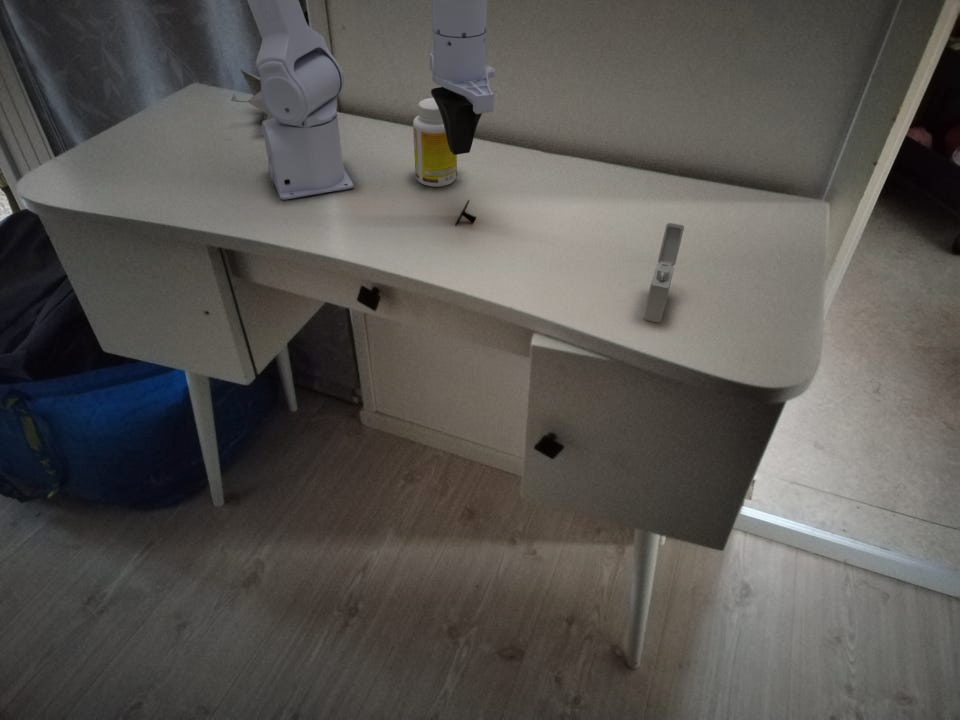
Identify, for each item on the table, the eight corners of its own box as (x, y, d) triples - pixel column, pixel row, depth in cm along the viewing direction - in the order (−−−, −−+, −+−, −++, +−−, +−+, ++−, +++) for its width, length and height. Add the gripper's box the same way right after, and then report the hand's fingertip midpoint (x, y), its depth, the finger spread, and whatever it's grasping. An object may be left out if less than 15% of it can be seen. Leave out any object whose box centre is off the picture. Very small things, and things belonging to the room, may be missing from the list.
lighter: (660, 323, 71) (675, 255, 66) (643, 319, 72) (657, 251, 67) (670, 286, 76) (685, 220, 71) (654, 282, 77) (668, 217, 72)
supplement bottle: (465, 180, 95) (465, 104, 88) (432, 192, 92) (429, 115, 85) (440, 166, 98) (438, 91, 91) (407, 177, 95) (403, 101, 88)
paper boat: (308, 123, 105) (247, 119, 100) (295, 150, 110) (236, 148, 105) (285, 58, 108) (225, 51, 103) (273, 87, 113) (215, 82, 108)
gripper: (522, 46, 71) (516, 171, 80) (469, 8, 81) (468, 124, 90) (457, 53, 69) (458, 181, 78) (410, 14, 79) (416, 131, 88)
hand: (459, 151), depth 84 cm, fingers closed
